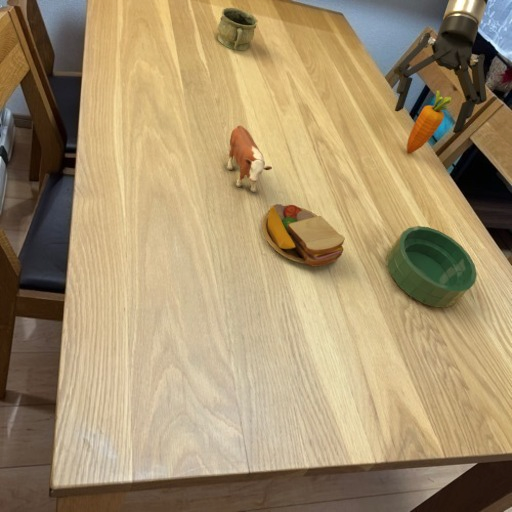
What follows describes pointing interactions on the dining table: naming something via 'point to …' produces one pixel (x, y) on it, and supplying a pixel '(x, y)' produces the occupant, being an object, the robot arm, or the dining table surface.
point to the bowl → (431, 266)
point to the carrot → (427, 123)
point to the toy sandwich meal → (301, 235)
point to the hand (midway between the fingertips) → (428, 120)
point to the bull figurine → (246, 156)
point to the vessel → (236, 28)
